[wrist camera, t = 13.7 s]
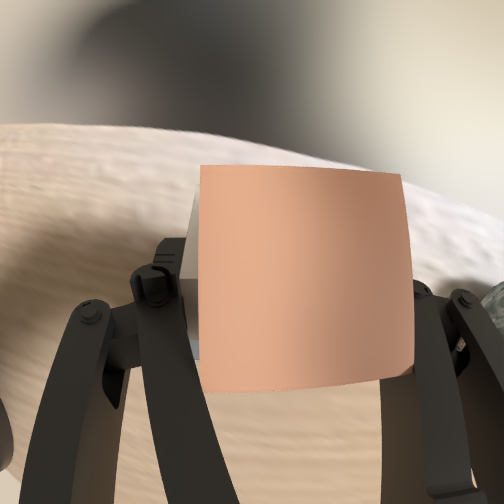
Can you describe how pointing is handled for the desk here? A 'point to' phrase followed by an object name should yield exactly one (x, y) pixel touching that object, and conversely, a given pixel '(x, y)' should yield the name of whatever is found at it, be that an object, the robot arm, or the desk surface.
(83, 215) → the desk surface
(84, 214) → the desk surface
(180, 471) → the robot arm
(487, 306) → the spool
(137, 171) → the desk surface
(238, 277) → the tall block
